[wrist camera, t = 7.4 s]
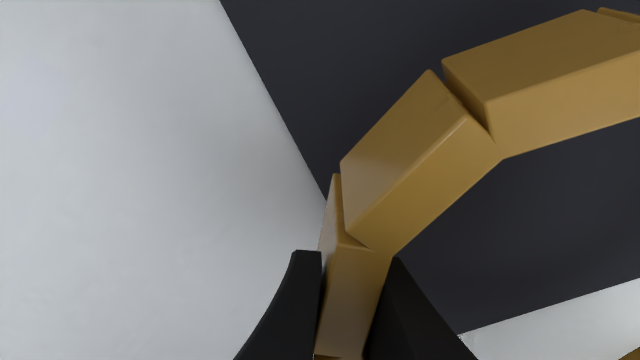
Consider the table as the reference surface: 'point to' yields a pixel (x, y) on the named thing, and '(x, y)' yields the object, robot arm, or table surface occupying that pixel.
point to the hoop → (463, 149)
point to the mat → (492, 189)
